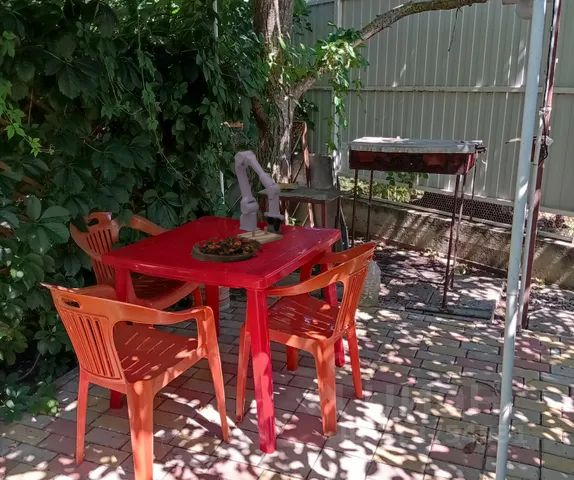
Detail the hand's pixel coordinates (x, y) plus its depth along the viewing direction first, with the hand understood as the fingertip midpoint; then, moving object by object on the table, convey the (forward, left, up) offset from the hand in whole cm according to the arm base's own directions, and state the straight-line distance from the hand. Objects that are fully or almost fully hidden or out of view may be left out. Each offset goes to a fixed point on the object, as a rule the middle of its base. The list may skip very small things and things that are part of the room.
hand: (274, 230), depth 323 cm
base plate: (+3, -13, -1) cm, 13 cm away
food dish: (+13, -43, -2) cm, 45 cm away
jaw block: (0, 0, -1) cm, 1 cm away
